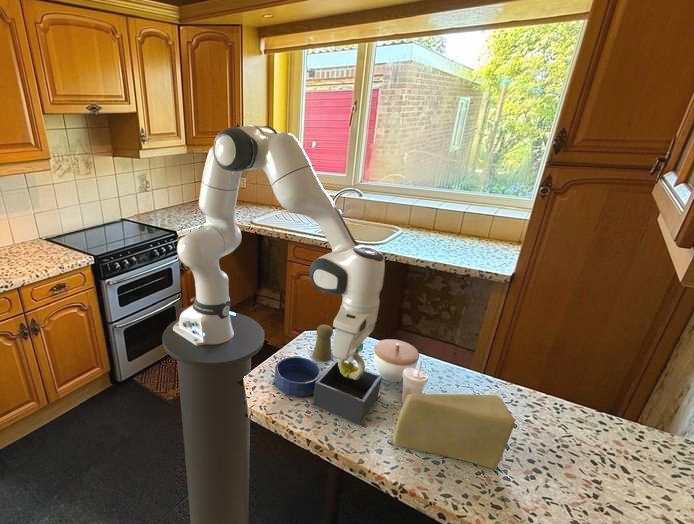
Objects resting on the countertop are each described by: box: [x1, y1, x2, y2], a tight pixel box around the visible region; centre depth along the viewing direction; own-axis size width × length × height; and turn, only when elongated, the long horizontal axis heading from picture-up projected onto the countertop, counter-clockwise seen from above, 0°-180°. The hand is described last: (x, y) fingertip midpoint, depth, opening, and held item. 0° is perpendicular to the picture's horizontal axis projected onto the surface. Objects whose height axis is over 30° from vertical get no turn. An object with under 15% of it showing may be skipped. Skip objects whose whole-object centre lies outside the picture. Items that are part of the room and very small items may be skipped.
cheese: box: [392, 393, 516, 470], centre depth 93 cm, size 22×10×15 cm, turn 80°
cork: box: [312, 324, 334, 362], centre depth 130 cm, size 6×6×11 cm
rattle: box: [337, 343, 366, 380], centre depth 107 cm, size 8×8×12 cm
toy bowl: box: [274, 356, 322, 398], centre depth 118 cm, size 13×13×5 cm
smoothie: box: [401, 360, 429, 405], centre depth 108 cm, size 6×6×14 cm
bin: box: [312, 359, 383, 426], centre depth 110 cm, size 14×14×8 cm
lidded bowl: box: [373, 338, 420, 383], centre depth 120 cm, size 13×13×11 cm
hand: (352, 357), depth 105 cm, fingers closed on rattle
